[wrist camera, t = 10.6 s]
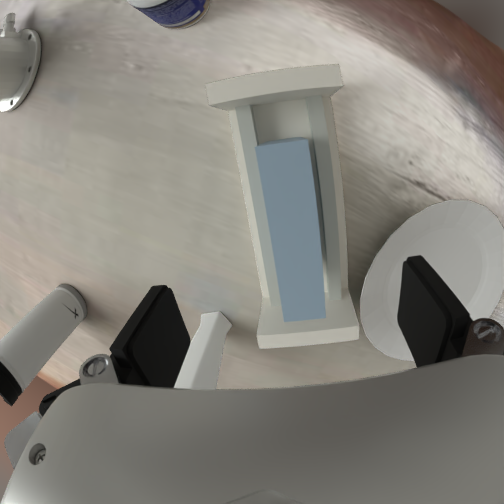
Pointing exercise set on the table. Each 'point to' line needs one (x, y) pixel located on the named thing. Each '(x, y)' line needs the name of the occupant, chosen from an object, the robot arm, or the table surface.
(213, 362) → the perfume bottle
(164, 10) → the pill bottle
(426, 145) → the table surface
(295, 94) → the track frame
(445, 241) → the plate
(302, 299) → the door panel
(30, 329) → the travel mug
